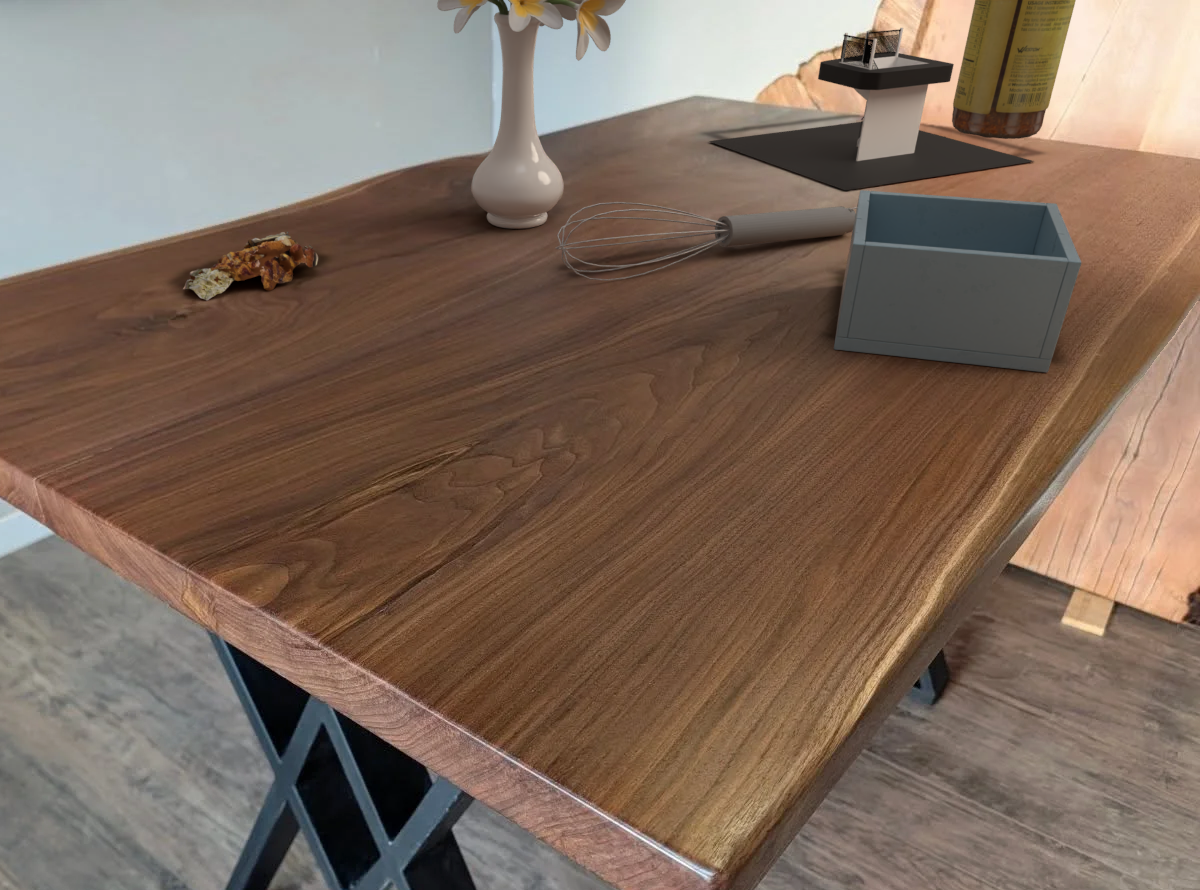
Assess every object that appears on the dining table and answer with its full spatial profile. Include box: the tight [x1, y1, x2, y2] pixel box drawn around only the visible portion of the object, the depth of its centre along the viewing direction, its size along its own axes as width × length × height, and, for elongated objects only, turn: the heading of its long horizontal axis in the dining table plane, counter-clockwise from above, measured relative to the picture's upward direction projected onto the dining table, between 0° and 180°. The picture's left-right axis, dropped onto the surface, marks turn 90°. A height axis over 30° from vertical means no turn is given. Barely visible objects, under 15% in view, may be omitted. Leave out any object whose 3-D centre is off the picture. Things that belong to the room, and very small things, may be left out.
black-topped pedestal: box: [708, 27, 1035, 191], centre depth 125 cm, size 28×26×13 cm
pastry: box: [182, 231, 319, 301], centre depth 92 cm, size 7×12×4 cm, turn 137°
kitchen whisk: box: [554, 201, 857, 282], centre depth 95 cm, size 6×34×6 cm, turn 115°
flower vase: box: [436, 0, 627, 230], centre depth 100 cm, size 13×18×25 cm
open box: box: [833, 189, 1082, 374], centre depth 80 cm, size 15×15×8 cm
